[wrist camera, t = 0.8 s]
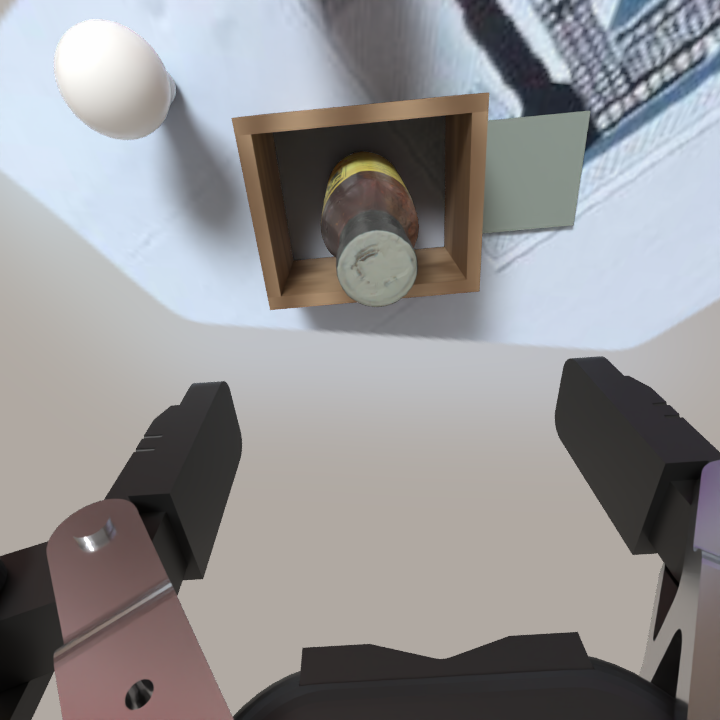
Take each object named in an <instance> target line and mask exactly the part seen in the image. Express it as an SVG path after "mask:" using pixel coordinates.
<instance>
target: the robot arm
mask: <svg viewBox="0 0 720 720" xmlns="http://www.w3.org/2000/svg"><path fill="white" fill-rule="evenodd" d="M555 425H556V430H557V432H558V436H559V438H560V440H561V441H562V443H563V445H564V446H565V448H566V449H567V451H568V453H569V454H570V456H571V457H572V459H573V460H574V462H575V464H576V465H577V467H578V468H579V470H580V472H581V473H582V475H583V476H584V478H585V480H586V481H587V483H588V484H589V486H590V488H591V489H592V491H593V492H594V494H595V496H596V497H597V499H598V500H599V502H600V504H601V505H602V507H603V508H604V510H605V511H606V513H607V514H608V516H609V518H610V519H611V521H612V523H613V524H614V526H615V527H616V529H617V531H618V532H619V534H620V535H621V537H622V539H623V540H624V542H625V543H626V545H627V546H628V548H629V550H630V551H631V553H632V554H633V555H638V554H654V553H658V554H659V556H660V557H661V559H662V560H663V562H664V563H663V566H662V568H661V571H660V573H659V579H658V584H657V590H656V596H655V601H654V607H653V613H652V618H651V624H650V630H649V635H648V641H647V647H646V652H645V657H644V661H643V664H642V668H641V671H640V674H639V676H638V675H637V674H635V673H633V672H631V671H629V670H626V669H624V668H622V667H620V666H617V665H615V664H612V663H609V662H606V661H603V660H600V659H597V658H594V657H589V656H588V655H587V653H586V651H585V648H584V646H583V644H582V641H581V639H580V636H579V634H578V632H570V633H553V634H536V635H519V636H508V637H505V638H503V639H500V640H497V641H494V642H492V643H489V644H486V645H483V646H481V647H478V648H475V649H472V650H470V651H467V652H464V653H461V654H459V655H456V656H453V657H450V658H447V659H435V658H430V657H426V656H421V655H417V654H412V653H408V652H403V651H399V650H394V649H390V648H385V647H380V646H376V645H372V644H363V645H345V646H328V647H310V648H303V650H302V661H301V671H299V672H296V673H294V674H291V675H289V676H287V677H285V678H283V679H281V680H279V681H277V682H275V683H273V684H272V685H270V686H269V687H267V688H266V689H264V690H263V691H261V692H260V693H258V694H257V695H256V696H255V697H254V698H252V699H251V700H250V701H249V702H248V703H246V704H245V705H244V706H243V707H242V708H241V709H240V710H239V711H238V712H237V713H236V714H235V715H234V716H233V717H232V714H231V712H230V710H229V708H228V706H227V703H226V701H225V699H224V697H223V695H222V693H221V690H220V688H219V686H218V684H217V682H216V680H215V677H214V675H213V673H212V671H211V669H210V666H209V664H208V662H207V660H206V658H205V656H204V653H203V651H202V649H201V647H200V645H199V643H198V640H197V638H196V636H195V634H194V632H193V629H192V627H191V625H190V623H189V621H188V619H187V616H186V615H185V612H184V610H183V608H182V606H181V603H180V601H179V599H178V597H177V595H178V592H179V589H180V586H181V583H182V581H183V580H195V579H203V577H204V574H205V571H206V568H207V564H208V561H209V558H210V555H211V552H212V548H213V545H214V542H215V539H216V536H217V532H218V529H219V526H220V523H221V519H222V516H223V513H224V509H225V506H226V503H227V500H228V497H229V493H230V490H231V487H232V484H233V481H234V478H235V474H236V471H237V468H238V464H239V461H240V458H241V452H242V438H241V432H240V428H239V424H238V420H237V416H236V412H235V408H234V404H233V400H232V396H231V392H230V389H229V386H228V384H227V383H226V382H224V381H223V382H208V383H194V384H192V385H191V386H190V388H189V389H188V391H187V393H186V395H185V396H184V398H183V400H182V402H181V404H180V405H175V406H170V407H169V408H168V409H167V410H165V411H164V412H163V413H162V414H160V415H159V416H158V417H157V418H156V419H154V421H153V422H152V424H151V425H150V427H149V428H148V430H147V432H146V433H145V435H144V439H142V440H141V441H140V443H139V445H138V446H137V448H136V452H134V453H133V454H132V456H131V458H130V459H129V461H128V462H127V464H126V465H125V467H124V469H123V470H122V472H121V473H120V475H119V477H118V478H117V480H116V481H115V483H114V485H113V486H112V488H111V489H110V491H109V493H108V494H107V496H106V497H105V499H104V500H102V501H98V502H95V503H92V504H90V505H88V506H85V507H83V508H82V509H80V510H78V511H76V512H75V513H73V514H72V515H70V516H69V517H68V518H67V519H65V520H64V521H63V522H62V523H61V524H60V525H59V526H58V527H57V528H56V530H55V531H54V532H53V534H52V535H51V537H50V539H49V541H48V542H45V543H42V544H38V545H35V546H32V547H29V548H25V549H22V550H19V551H15V552H13V553H9V554H6V555H3V556H0V720H31V719H32V717H33V715H34V713H35V710H36V709H37V706H38V704H39V702H40V700H41V698H42V696H43V694H44V691H45V689H46V687H47V685H48V683H49V681H50V679H51V677H52V675H53V672H54V671H55V675H56V682H57V688H58V694H59V700H60V706H61V712H62V717H63V720H720V452H719V451H718V450H717V449H716V448H715V447H714V446H713V445H711V444H710V443H709V442H708V441H707V440H706V439H705V438H704V437H703V436H702V435H701V434H700V433H699V432H697V431H696V429H694V428H693V427H692V426H691V425H690V424H689V423H688V422H687V421H686V420H685V419H684V418H680V417H679V413H677V412H676V411H675V410H674V409H673V408H672V407H671V406H670V405H667V404H666V401H665V400H664V399H663V398H662V397H660V396H659V395H658V394H657V393H656V392H655V391H654V390H653V389H652V388H651V387H649V386H647V385H645V384H643V383H641V382H639V381H638V380H635V379H634V378H632V377H630V376H624V375H623V374H622V373H621V372H620V371H618V369H616V368H615V367H614V366H613V365H612V364H611V363H610V362H609V361H608V360H607V359H606V358H605V357H587V358H572V359H568V360H567V361H566V362H565V364H564V367H563V372H562V378H561V383H560V388H559V394H558V399H557V405H556V410H555Z"/></svg>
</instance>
